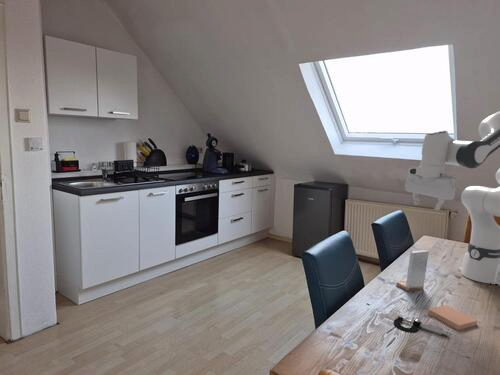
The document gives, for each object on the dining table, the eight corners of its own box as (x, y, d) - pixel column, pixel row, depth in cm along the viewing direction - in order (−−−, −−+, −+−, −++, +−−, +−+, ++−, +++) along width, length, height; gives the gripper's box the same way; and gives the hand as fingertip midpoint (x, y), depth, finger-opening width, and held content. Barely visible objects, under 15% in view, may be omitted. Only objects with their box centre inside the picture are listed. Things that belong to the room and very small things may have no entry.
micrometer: (390, 327, 114) (391, 320, 114) (396, 319, 120) (397, 311, 119) (444, 346, 105) (445, 338, 105) (448, 336, 111) (449, 328, 111)
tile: (446, 304, 128) (477, 320, 118) (445, 310, 128) (476, 326, 118) (428, 309, 124) (459, 325, 114) (427, 314, 124) (458, 331, 115)
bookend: (410, 283, 149) (415, 246, 147) (423, 289, 144) (428, 251, 141) (396, 285, 146) (401, 247, 143) (408, 292, 140) (413, 253, 138)
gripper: (461, 176, 137) (456, 212, 139) (415, 169, 155) (411, 201, 157) (450, 176, 134) (444, 213, 136) (404, 168, 152) (400, 201, 154)
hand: (426, 206), depth 147 cm, fingers open, 8 cm apart
